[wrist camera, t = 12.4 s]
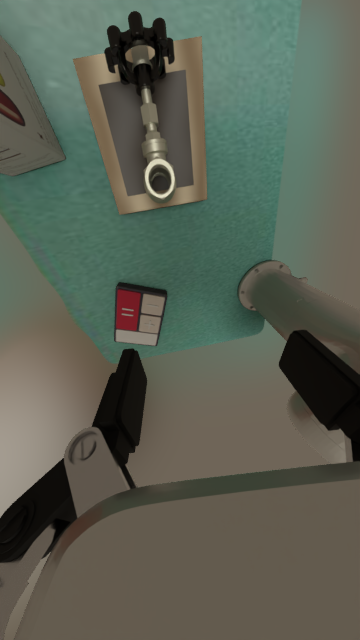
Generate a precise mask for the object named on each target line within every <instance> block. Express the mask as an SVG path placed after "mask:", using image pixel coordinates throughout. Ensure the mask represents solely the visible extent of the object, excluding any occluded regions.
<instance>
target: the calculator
mask: <svg viewBox="0 0 360 640" xmlns="http://www.w3.org/2000/svg"><path fill="white" fill-rule="evenodd" d="M166 300H167V291H165V290H159V289H154V288H149V287H143V286H138V285H132V284H127V283H121V282H120V283H119V284H118V285H117V286H116V299H115V330H114V341H115V342H123V343H132V344H141V345H150V346H157V344H158V339H159V334H160V330H161V325H162V320H163V315H164V310H165V305H166Z"/></svg>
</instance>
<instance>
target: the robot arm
mask: <svg viewBox="0 0 360 640" xmlns="http://www.w3.org/2000/svg"><path fill="white" fill-rule="evenodd" d="M307 280H308V279H307V278H306V277H304V278H299V279H298V278H296V277H294V276H292V275H291V271H290V269H289V268H288V266H286V265H285V264H284V263H282V262H279V261H274V260H270V261H264V262H262V263H259V264H257V265H256V266H254V267H253V268H251V269H250V270H249V271H248V272H247V273H246V274H245V276H244V277H243V278H242V280H241V282H240V285H239V288H238V298H239V300H240V302H241V304H242V305H243V306H244V307H246V308H247V309H249V310H253V311H258V312H259V313H260V314H261V315H262V316H263V317H264V318H265V319H266V320H267V321H268V322H269V323H270V324H271V325H272V327H273V328H274V329H275V330H276V331H277V332H278V333H279V334H280V335H281V336H282V337H283V338H284V339H285V340H286V341H287V343H286V346H285V348H284V351H283V353H282V356H281V359H280V361H279V367H280V369H281V370H282V372H283V373H284V374H285V375H286V377H287V378H288V380H289V381H290V383H291V384H292V385H293V387H294V388H295V389H296V391H295V392H294V393H293V394H292V396H291V397H290V398H289V400H288V403H287V412H288V415H289V418H290V420H291V422H292V424H293V426H294V427H295V429H296V430H297V432H298V433H299V434H300V435H301V436H302V438H303V439H304V440H305V441H306V442H307V443H308V444H309V445H310V446H311V447H312V448H313V449H314V450H315V451H316V452H317V453H319V454H320V455H321V456H322V457H323V458H324V459H325V460H327V461H328V462H329V463H330V464H327V465H318V466H309V467H299V468H291V469H281V470H272V471H264V472H255V473H246V474H237V475H229V476H220V477H211V478H203V479H194V480H185V481H178V482H171V483H163V484H156V485H149V486H145V487H139V488H138V486H137V484H136V482H135V480H134V478H133V476H132V474H131V472H130V470H129V468H128V467H127V464H126V463H127V462H128V457H129V453H134V452H135V446H138V445H139V441H140V433H141V426H142V418H143V410H144V402H145V394H146V386H147V378H146V375H145V372H144V369H143V366H142V363H141V360H140V357H139V354H138V351H135V350H134V349H124V350H123V352H122V355H121V358H120V361H119V364H118V367H117V370H116V372H115V373H112V374H111V376H110V377H109V380H108V383H107V386H106V388H105V391H104V394H103V397H102V399H101V402H100V405H99V408H98V411H97V413H96V416H95V419H94V422H93V425H92V427H88V428H85V429H83V430H82V431H80V432H79V433H78V434H77V435H75V436H74V437H73V439H72V440H71V441H70V443H69V444H68V446H67V449H66V451H65V454H64V458H63V459H62V460H61V461H60V462H58V463H57V464H56V465H55V466H54V467H53V468H52V469H51V470H50V471H49V472H47V473H46V474H45V475H44V476H43V477H42V478H41V479H39V480H38V481H37V482H36V483H35V484H34V485H33V486H32V487H31V488H30V489H28V490H27V491H26V492H25V493H24V494H23V495H22V496H21V497H19V498H18V499H17V500H16V501H15V502H14V503H13V504H12V505H11V506H10V507H9V508H8V509H7V510H6V511H5V512H4V514H3V515H2V516H1V518H0V640H4V634H5V629H6V626H7V623H8V620H9V617H10V614H11V613H12V611H13V609H14V607H15V605H16V603H17V601H18V599H19V598H20V596H21V594H22V593H23V592H24V590H25V588H26V587H27V585H28V584H29V583H28V582H27V580H28V579H29V577H30V576H31V574H32V573H33V571H34V570H35V568H36V566H37V565H38V563H39V562H40V560H41V559H42V558H44V557H46V556H47V555H48V554H49V552H51V553H50V555H49V557H48V559H47V561H46V563H45V565H44V567H43V569H42V572H41V574H40V576H39V578H38V581H37V583H36V585H35V587H34V590H33V592H32V595H31V597H30V600H29V602H28V604H27V607H26V609H25V612H24V615H23V617H22V620H21V622H20V625H19V627H18V630H17V633H16V635H15V638H14V640H360V310H359V309H357V308H355V307H353V306H351V305H349V304H347V303H345V302H343V301H341V300H339V299H336V298H334V297H332V296H330V295H328V294H326V293H324V292H322V291H320V290H318V289H316V288H314V287H312V286H310V285H308V284H306V283H307Z"/></svg>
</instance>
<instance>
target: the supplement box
mask: <svg viewBox="0 0 360 640" xmlns="http://www.w3.org/2000/svg"><path fill="white" fill-rule="evenodd" d="M65 159H66V158H65V155H64V153H63V151H62V149H61V147H60V145H59V142H58V140H57V138H56V136H55V134H54V131H53V129H52V127H51V125H50V123H49V121H48V118H47V116H46V114H45V112H44V110H43V108H42V105H41V103H40V101H39V99H38V97H37V94H36V92H35V90H34V88H33V86H32V84H31V81H30V79H29V77H28V75H27V73H26V71H25V68H24V66H23V64H22V62H21V60H20V58H19V56H18V55H17V53H15V51H14V50H13V49H12V48H11V47H10V46H9V45H8V44H7V42H6V41H5V40H4V39H3V38H2V37H1V36H0V173H2V174H6V175H10V176H15V175H18V174H22V173H25V172H28V171H31V170H34V169H37V168H40V167H43V166H46V165H49V164H53V163H56V162H59V161H62V160H65Z"/></svg>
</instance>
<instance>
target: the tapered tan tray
mask: <svg viewBox="0 0 360 640" xmlns="http://www.w3.org/2000/svg"><path fill="white" fill-rule="evenodd" d="M173 43H174V55H175V60H174V62H173V63H172V64H170V65H169V64H168V57H164V59H165V67H166V77H165V78H163V79H157V80H156V81H154V84H155V92H154V93H153V94H152V95H151V97H152V103H154V104H155V105H156V109H157V116H158V125H159V127H157V132H159V133H160V138H163V139H165V140H166V142H167V149H168V153H167V155H166V162H168V163H170V164H171V165H173V169H174V174H175V177H176V191H175V194H174V196H173V197H172V199H171V200H170V201H168V202H166V203H163V204H160V203H156V202H154V201H153V200H152V199H151V198H150V197H149V196H148V194H147V193H146V190H145V187H144V169H145V168H146V167H147V166H148V163H147V158H144V156H143V151H142V143H143V142H144V141H146V136H145V135H146V134H147V129H144V125H143V119H142V113H141V108H140V107H141V106H142V105H143V101H142V97H141V96H139V95H138V94H137V93H136V88H135V85H134V84H131V83H130V84H128V85H123V84H122V83H121V81H120V77H119V72H118V65H115V66H114V67H115V72H116V73H111V72H109V70H108V66H107V62H106V58H105V53H104V54H99V55H93V56H87V57H82V58H76V59H73V62H74V65H75V68H76V71H77V75H78V78H79V81H80V85H81V88H82V91H83V95H84V98H85V101H86V105H87V108H88V111H89V115H90V118H91V121H92V125H93V128H94V131H95V134H96V138H97V141H98V144H99V148H100V151H101V154H102V158H103V161H104V164H105V168H106V171H107V174H108V178H109V181H110V184H111V188H112V191H113V194H114V197H115V201H116V204H117V207H118V211H119V214H129V213H134V212H140V211H146V210H152V209H157V208H163V207H169V206H175V205H180V204H186V203H192V202H198V201H203V200H206V199H207V180H206V151H205V122H204V93H203V64H202V36H200V37H194V38H189V39H183V40H178V41H173ZM146 47H147V48H148V55H149V60H150V59H151V58H152V57H153V56H154V55H155V50H154V49H153V48H152V47H150V46H146ZM125 56H126V60H127V61H129V62H132V63H133V59H132V54H131V49H129V50H128V51H127V52H126V54H125ZM152 189H153V190H154V191H155V192H157V193H165V192H166V191H167V190H168V189H169V184H168V181H167V179H166V178H165V177H163V176H161V175H159V176H156V177H155V178H154V179H153V181H152Z"/></svg>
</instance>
